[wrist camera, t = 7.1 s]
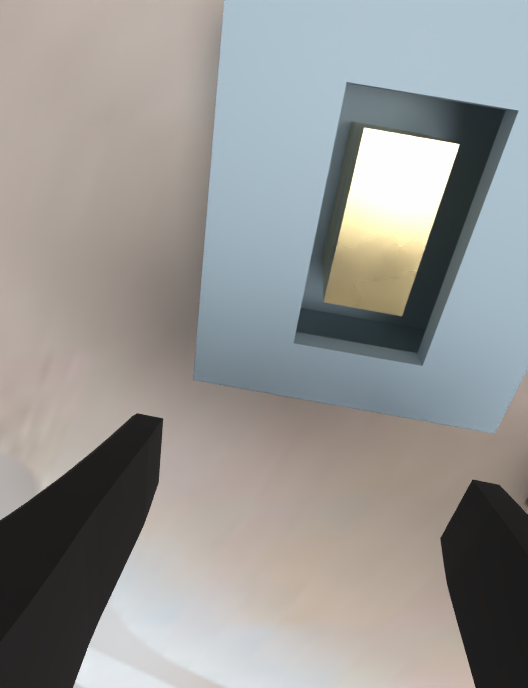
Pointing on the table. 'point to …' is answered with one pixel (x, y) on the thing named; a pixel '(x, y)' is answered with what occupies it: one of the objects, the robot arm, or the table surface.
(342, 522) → the table surface
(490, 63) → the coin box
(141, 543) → the table surface
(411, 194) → the tan rectangular block
